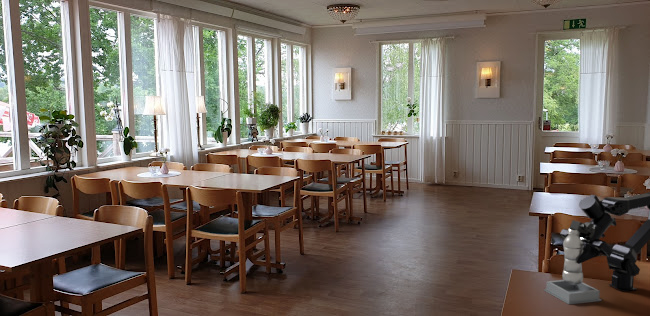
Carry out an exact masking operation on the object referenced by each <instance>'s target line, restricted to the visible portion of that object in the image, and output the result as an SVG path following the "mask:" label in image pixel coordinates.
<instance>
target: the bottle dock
mask: <svg viewBox="0 0 650 316" xmlns="http://www.w3.org/2000/svg"><path fill="white" fill-rule="evenodd" d="M543 291H544V292H546V293H548V294H549V295H552V296H554V297H555V298H557V299H559V300H560V301H562V302H564V303H565V304H567V305H577V304H584V303H585V304H586V303H593V302H594V303H595V302H602V299H601V298H600V290H599V289H597V288H595V287H592V286H591V285H589V284H587V283H585V282H583V281H582V283H581V284H579V285H571V284H567V283H565V282H564V280H563V279H559V280H548V281H546V287H545V288H544V289H543Z"/></svg>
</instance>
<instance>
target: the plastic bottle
mask: <svg viewBox="0 0 650 316" xmlns="http://www.w3.org/2000/svg"><path fill="white" fill-rule="evenodd" d="M567 229H568V234H569V235H568V236H567V237H566V238H565V239H563V241H562V242H563V243H562V246H563V251H564V253H563V256H564V255H565V258H564V264H563V270H562V274H561V275H562V280H564V282H565V283H567V284H571V285H579V284H581V283H582V282H583V281H584V280H583V279H584V273H583V267H582V266H583V265H582V263H583V262H582V263H580V264H578V263H577V260H578V258H579V257H580V255H581V254H582V253H583V251H584V248H585V247H584V245H585V244H584V243H583V241H582V239H581V238H580V236H579V235H580V231H578V230H575V229H570V227H568V228H567Z"/></svg>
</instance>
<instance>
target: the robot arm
mask: <svg viewBox="0 0 650 316" xmlns="http://www.w3.org/2000/svg"><path fill="white" fill-rule="evenodd" d="M578 207H579V208H580V209H581V211H582V212H583V213H584V215H585V216H586V217H587V218H588V219H590V221H589V222H588V221H587V222H580V221H579V220H578V221H577V220H574V219H573V220H571V221H572V222H571V223H570V226H569V228H570V229H575V230H578V231H580V235H579V236H580V238H581V239H582V241H583V243H584V245H585V247H584V249H583V253H582V254H581V255H580V257H579V258H578V260H577V263H578V264H580V263H584V262H586V261H589V260H591V259H594V258H598V257H602V256H605V257H606V263H607V266H608V269H610V270H612V275H611V283H608V286H609V285H610V287H611V286H612V288H613V287H614V289H615V290H618V291H620V292H630V291H629V290H632V291H637V288H636V287H634V281H635V280H634V279H635V278H634V277H636V276H639V274H640V271H641V268H639V266H638V265H637V264H636V263H637V260H638V259H637V257H638V253H639V252H640V251H641V250H642V249H643V248H644V246H646V244H648V242H649V241H650V191H649V192H648V191H647V192H645V193H642V194H641V193H640V194H637V195H631V196H626V197H615V196H614V197H612V196H607V197H604V198H603V199H601V200H600V199H599V197H598V196H597V195H596V194H590V196H586V197H585V198H582V199H580V201H579V202H578ZM644 207H646V208H647V210H648V215H647V216H648V218H647V219H646V221H644V223H643V224H642V225H641V226H640V227H639V228H638V229H637V230H636V231H635V232H634V233H633V235H632V236H631V237H630V238H628V240H627V241H626V242H625V243H624V244H622V245H620V244H614V245H613V247H612V248H611V246H610V245H609V244H608V242H607V241H606V240H602V239H601V238H605V237H606V235H605V234H604V233H606V231H607V230H608V228H609V227H611V226H615V227H616V226H617V220H616V218H615V217H613V216H618V217H622V216H623V215H626V214H628V213H629V211H631V210H635V209H639V208H644ZM612 215H613V216H612ZM559 234H560V236H561V237H562V238H563V240H565V238H566V237H567V236H568V235H569V234H568V228H562V229H561V232H560V233H559ZM563 258H564V259H565V255H564V254H563Z"/></svg>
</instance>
